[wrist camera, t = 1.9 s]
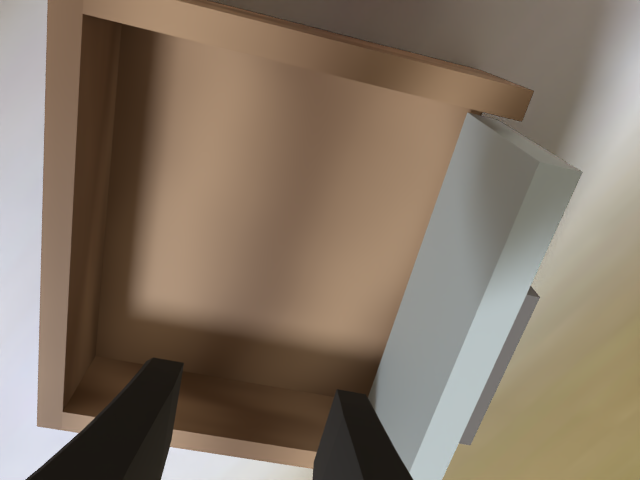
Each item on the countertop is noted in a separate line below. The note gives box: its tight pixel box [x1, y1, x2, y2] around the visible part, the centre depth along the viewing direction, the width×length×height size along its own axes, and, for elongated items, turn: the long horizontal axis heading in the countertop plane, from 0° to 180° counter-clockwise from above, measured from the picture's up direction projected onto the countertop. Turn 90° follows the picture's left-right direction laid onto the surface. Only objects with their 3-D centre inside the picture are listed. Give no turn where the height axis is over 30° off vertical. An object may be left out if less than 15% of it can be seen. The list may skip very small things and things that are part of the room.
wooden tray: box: [37, 0, 534, 469], centre depth 18 cm, size 12×14×4 cm
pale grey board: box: [368, 112, 582, 480], centre depth 16 cm, size 2×12×6 cm, turn 166°
